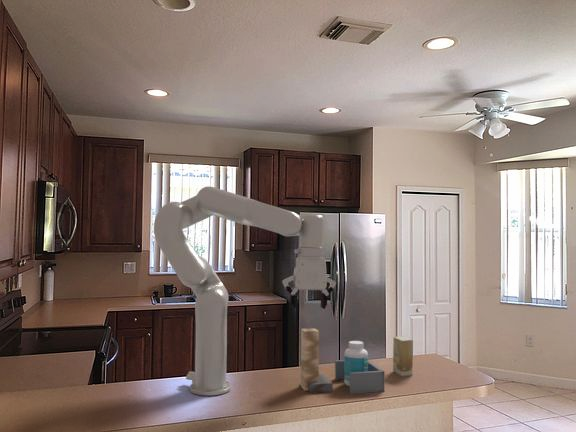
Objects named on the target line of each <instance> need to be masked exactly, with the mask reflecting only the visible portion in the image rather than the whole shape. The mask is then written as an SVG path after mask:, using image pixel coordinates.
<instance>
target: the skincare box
mask: <svg viewBox="0 0 576 432" xmlns="http://www.w3.org/2000/svg"><path fill="white" fill-rule="evenodd" d="M392 345H393V349H392V353H393V354H392V371H393V372H394V373H396V374H397V375H399V376H400V377H408V376H413V365H414V362H413V360H414V359H413V355H414V346H413V345H414V340H413V339H411V338H409V337H407V336H404V335H402V336H401V335H400V336H393V344H392Z"/></svg>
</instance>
